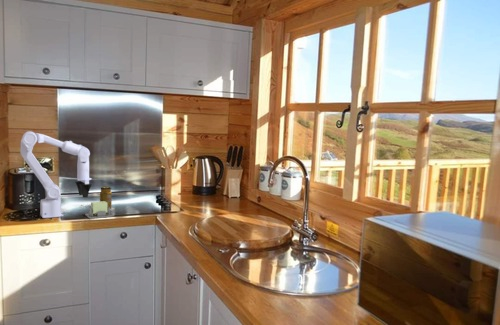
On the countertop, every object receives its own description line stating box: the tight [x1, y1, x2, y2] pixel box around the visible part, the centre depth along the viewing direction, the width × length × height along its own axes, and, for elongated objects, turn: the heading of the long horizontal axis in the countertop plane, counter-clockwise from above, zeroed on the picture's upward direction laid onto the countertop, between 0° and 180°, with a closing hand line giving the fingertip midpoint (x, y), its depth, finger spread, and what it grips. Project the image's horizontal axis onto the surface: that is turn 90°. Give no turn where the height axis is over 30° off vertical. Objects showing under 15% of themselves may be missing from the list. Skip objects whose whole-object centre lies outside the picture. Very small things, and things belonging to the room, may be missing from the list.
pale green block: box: [90, 201, 107, 214], centre depth 213 cm, size 7×4×5 cm, turn 126°
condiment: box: [99, 186, 115, 211], centre depth 231 cm, size 7×8×12 cm
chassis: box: [84, 207, 115, 220], centre depth 214 cm, size 12×9×4 cm
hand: (83, 196), depth 216 cm, fingers open, 7 cm apart
